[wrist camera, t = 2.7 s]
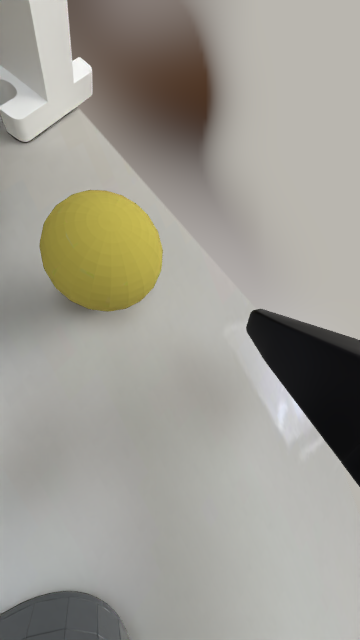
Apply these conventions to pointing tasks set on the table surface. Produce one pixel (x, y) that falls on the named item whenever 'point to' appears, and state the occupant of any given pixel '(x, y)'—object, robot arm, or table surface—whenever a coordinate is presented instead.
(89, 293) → the light bulb
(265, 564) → the table surface
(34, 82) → the white bracket stand
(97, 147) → the table surface
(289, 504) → the table surface
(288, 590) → the table surface
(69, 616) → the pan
